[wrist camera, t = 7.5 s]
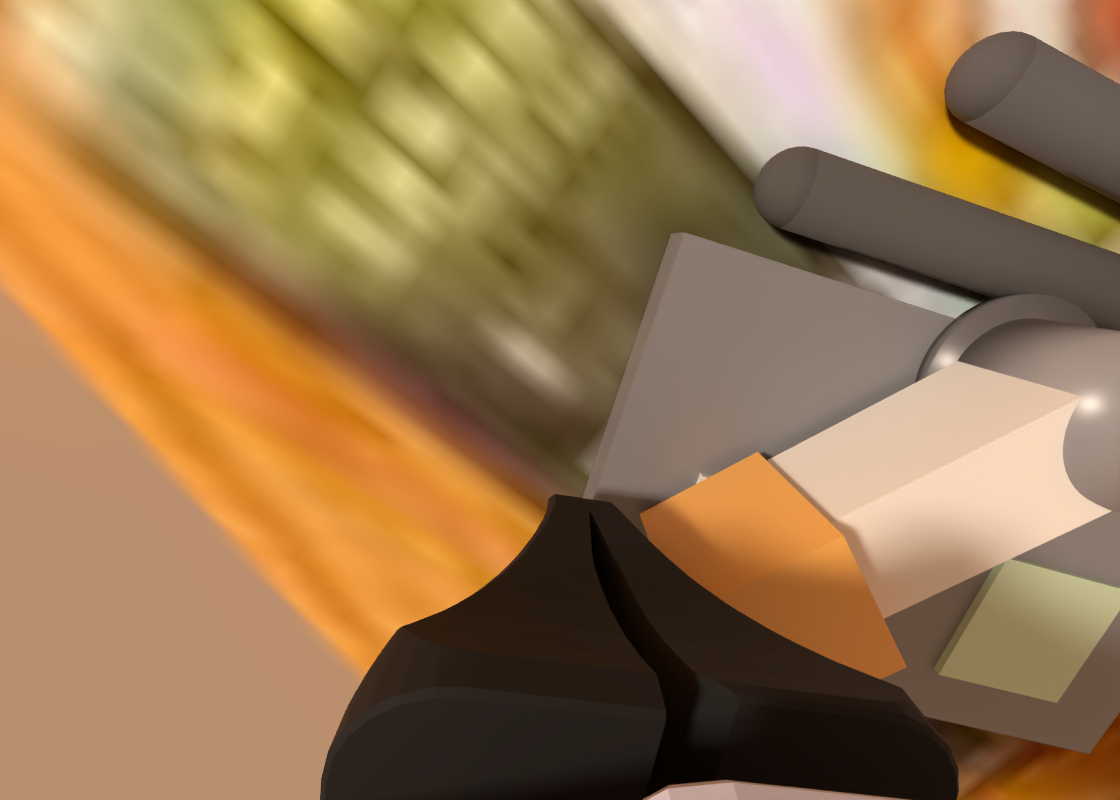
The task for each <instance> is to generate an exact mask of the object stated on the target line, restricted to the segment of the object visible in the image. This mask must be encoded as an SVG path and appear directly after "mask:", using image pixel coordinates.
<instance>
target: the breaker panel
mask: <svg viewBox="0 0 1120 800" xmlns="http://www.w3.org/2000/svg"><path fill="white" fill-rule="evenodd" d="M1026 318H1034V319H1044V320H1050V321H1057V322H1063V323H1070V324H1076V325H1083V326H1090V327H1096V328H1097V326H1096V324H1095V323H1094V322H1093V320H1092V319H1091V318H1090V317H1089V315H1088V314H1087V313H1085V312H1084V311H1083V310H1082V309H1081V308H1080V307H1078V306H1076V305H1075V304H1073V303H1072V302H1069V301H1067V300H1065V299H1062V298H1059V297H1055V296H1051V295H1042V294H1008V295H1002V296H999V297H995V298H992V299H989V300H987V301H984V302H982V303H980V304H978V305H976V306H974V307H972V308H971V309H969V310H967V311H965V312H964V313H963V314H961V315H960V316H959V317H957V318H956V319H954V318H951V317H948V316H945V315H942V314H938V313H935V312H932V311H929V310H926V309H923V308H920V307H917V306H913V305H910V304H907V303H904V302H901V301H898V300H895V299H892V298H888V297H885V296H882V295H879V294H876V293H873V292H870V291H867V290H863V289H860V288H857V287H854V286H851V285H848V284H845V283H841V282H838V281H835V280H832V279H829V278H826V277H823V276H820V275H816V274H813V273H810V272H807V271H804V270H801V269H798V268H795V267H791V266H788V265H785V264H782V263H779V262H776V261H773V260H769V259H766V258H763V257H760V256H757V255H754V254H751V253H748V252H744V251H741V250H738V249H735V248H732V247H729V246H726V245H723V244H719V243H716V242H713V241H710V240H707V239H704V238H701V237H697V236H694V235H691V234H688V233H685V232H684V233H671V236H670V239H669V242H668V245H667V248H666V251H665V254H664V257H663V260H662V263H661V266H660V268H659V271H658V274H657V277H656V280H655V283H654V286H653V289H652V292H651V295H650V298H649V301H648V304H647V307H646V310H645V313H644V316H643V319H642V322H641V325H640V328H639V331H638V334H637V337H636V340H635V343H634V346H633V349H632V352H631V355H630V358H629V360H628V363H627V366H626V369H625V372H624V375H623V378H622V381H621V384H620V387H619V390H618V393H617V396H616V399H615V402H614V405H613V408H612V411H611V414H610V417H609V420H608V423H607V426H606V429H605V432H604V435H603V438H602V441H601V444H600V447H599V450H598V452H597V455H596V458H595V461H594V464H593V467H592V470H591V473H590V476H589V479H588V482H587V485H586V488H585V491H584V494H583V497H582V498H585V499H592V500H599V501H606V502H611V503H612V504H614V505H615V506H616V507H617V508H618V509H619V510H620V511H621V512H622V513H623V514H624V515H625V516H626V517H627V518H628V519H629V520H630V522H631V523H632V524H633V525H634V526H635V527H636V528H637V529H638V530H639V531H640V532H641V533H642V534H643V535H644V536H645V537H646V538H647V539H648V537H647V534H646V531H645V528H644V525H643V522H642V520H641V517H640V513H642V512H644V511H646V510H648V509H650V508H652V507H654V506H656V505H657V504H659V503H661V502H663V501H665V500H667V499H669V498H671V497H673V496H675V495H676V494H678V493H680V492H682V491H684V490H686V489H688V488H690V487H692V486H694V485H695V484H697V483H699V482H701V481H703V480H705V479H707V478H709V477H711V476H713V475H714V474H716V473H718V472H720V471H722V470H724V469H726V468H728V467H730V466H732V465H734V464H735V463H737V462H739V461H741V460H743V459H745V458H747V457H749V456H751V455H753V454H754V453H756V452H758V453H759V454H760V455H761V456H762V457H763V458H764V459H766V460H769V459H771V458H773V457H774V456H776V455H778V454H780V453H782V452H784V451H786V450H788V449H790V448H792V447H794V446H796V445H797V444H799V443H801V442H803V441H805V440H807V439H809V438H811V437H813V436H815V435H817V434H818V433H820V432H822V431H824V430H826V429H828V428H830V427H832V426H834V425H836V424H838V423H839V422H841V421H843V420H845V419H847V418H849V417H851V416H853V415H855V414H857V413H859V412H861V411H862V410H864V409H866V408H868V407H870V406H872V405H874V404H876V403H878V402H880V401H882V400H883V399H885V398H887V397H889V396H891V395H893V394H895V393H897V392H899V391H901V390H903V389H905V388H906V387H908V386H910V385H912V384H914V383H916V382H918V381H920V380H922V379H924V378H926V377H927V376H929V375H931V374H933V373H935V372H937V371H939V370H941V369H943V368H945V367H947V366H948V365H950V364H952V363H954V362H956V361H957V360H958V359H959V358H960V356H961V355H962V353H963V352H964V351H965V350H966V349H967V348H968V347H969V345H971V344H972V343H973V342H974V341H975V340H976V339H977V338H979V337H980V336H981V335H983V334H984V333H985V332H987V331H989V330H990V329H992V328H994V327H996V326H998V325H1001V324H1003V323H1006V322H1009V321H1013V320H1018V319H1026ZM648 540H649V539H648ZM884 620H885V623H886V625H887V627H888V629H889V631H890V633H891V635H892V637H893V639H894V641H895V643H896V645H897V647H898V650H899V652H900V654H901V656H902V658H903V660H904V662H905V664H906V666H907V667H906V668H904V669H902V670H900V671H898V672H895V673H893V674H891V675H889V676H887V677H884V678H882V679H881V680H883V681H886V682H888V683H891V684H893V685H896V686H898V687H901V688H902V689H903V690H904V691H905V692H906V693H907V695H908V696H909V697H910V698H911V700H912V701H913V702H914V703H915V705H916V706H917V707H918V708H919V710H920V711H921V712H922V713H923V715H924V716H925V717H929V718H934V719H938V720H943V721H947V722H951V723H956V724H960V725H964V726H969V727H973V728H977V729H982V730H986V731H991V732H995V733H999V734H1004V735H1008V736H1012V737H1017V738H1021V739H1026V740H1030V741H1034V742H1039V743H1043V744H1047V745H1052V746H1056V747H1060V748H1065V749H1069V750H1074V751H1078V752H1082V753H1087V754H1090V753H1091V751H1092V750H1093V749H1094V747H1095V746H1096V744H1097V743H1098V742H1099V740H1100V739H1101V738H1102V736H1103V735H1104V733H1105V732H1106V731H1107V729H1108V728H1109V726H1110V725H1111V724H1112V722H1113V721H1114V719H1115V718H1116V717H1117V715H1118V714H1119V713H1120V513H1117V512H1114V511H1111V512H1109V513H1107V514H1105V515H1103V516H1101V517H1098V518H1096V519H1094V520H1092V521H1090V522H1088V523H1086V524H1084V525H1081V526H1079V527H1077V528H1075V529H1073V530H1071V531H1069V532H1067V533H1065V534H1062V535H1060V536H1058V537H1056V538H1054V539H1052V540H1050V541H1048V542H1045V543H1043V544H1041V545H1039V546H1037V547H1035V548H1033V549H1031V550H1028V551H1026V552H1024V553H1022V554H1020V555H1018V556H1016V557H1014V558H1012V559H1009V560H1007V561H1005V562H1003V563H1001V564H999V565H997V566H995V567H992V568H990V569H988V570H986V571H984V572H982V573H980V574H978V575H976V576H973V577H971V578H969V579H967V580H965V581H963V582H961V583H959V584H956V585H954V586H952V587H950V588H948V589H946V590H944V591H942V592H940V593H937V594H935V595H933V596H931V597H929V598H927V599H925V600H923V601H920V602H918V603H916V604H914V605H912V606H910V607H908V608H906V609H903V610H901V611H899V612H897V613H895V614H893V615H891V616H889V617H887V618H884Z"/></svg>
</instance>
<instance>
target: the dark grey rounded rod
mask: <svg viewBox="0 0 1120 800" xmlns="http://www.w3.org/2000/svg"><path fill="white" fill-rule="evenodd" d="M944 91H945V102H946V104H947V107H948V109H949V111H950V112H951V113H952V115H953V116H955V117H956V118H957V119H959V120H960V121H962V122H964V123H966V124H968V125H969V126H971V127H973V128H975V129H977V130H979V131H981V132H983V133H985V134H987V135H989V136H991V137H993V138H994V139H996V140H998V141H1000V142H1002V143H1004V144H1006V145H1008V146H1010V147H1012V148H1014V149H1016V150H1017V151H1019V152H1021V153H1023V154H1025V155H1027V156H1029V157H1031V158H1033V159H1035V160H1037V161H1039V162H1041V163H1042V164H1044V165H1046V166H1048V167H1050V168H1052V169H1054V170H1056V171H1058V172H1060V173H1062V174H1064V175H1066V176H1067V177H1069V178H1071V179H1073V180H1075V181H1077V182H1079V183H1081V184H1083V185H1085V186H1087V187H1089V188H1091V189H1092V190H1094V191H1096V192H1098V193H1100V194H1102V195H1104V196H1106V197H1108V198H1110V199H1112V200H1114V201H1115V202H1117V203H1119V204H1120V84H1118V83H1116V82H1114V81H1113V80H1111V79H1109V78H1107V77H1105V76H1104V75H1102V74H1100V73H1098V72H1096V71H1095V70H1093V69H1091V68H1089V67H1087V66H1086V65H1084V64H1082V63H1080V62H1078V61H1077V60H1075V59H1073V58H1071V57H1070V56H1068V55H1066V54H1064V53H1062V52H1061V51H1059V50H1057V49H1055V48H1053V47H1052V46H1050V45H1048V44H1046V43H1044V42H1043V41H1041V40H1039V39H1037V38H1035V37H1034V36H1031V35H1028V34H1026V33H1023V32H1015V31H1011V32H1002V33H998V34H995V35H992V36H989V37H986V38H985V39H983V40H981V41H979V42H977V43H976V44H974V45H973V46H971V47H970V48H969V49H968V50H967V51H966V52H965V53H964V54H963V55H961V57H960V58H959V59H958V60H957V61H956V63H955V64H954V66H953V67H952V69H951V71H950V73H949V75H948V77H947V80H946V85H945V90H944Z"/></svg>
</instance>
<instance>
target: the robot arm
mask: <svg viewBox="0 0 1120 800" xmlns="http://www.w3.org/2000/svg"><path fill="white" fill-rule="evenodd" d="M958 792H959V783H958V767H957V764H956V762H955V759H954V757H953V754H952V752H951V749H950V747H949V746H948V745H947V744H946V742H945V741H944V740H943V739H942V737H941V736H940V735H939V733H938V732H937V731H936V730H935V728H934V727H933V726H932V725H931V723H930V722H929V721H928V720H927V718H926V717H925V716H924V715H923V713H922V712H921V711H920V710H919V708H918V707H917V706H916V705H915V703H914V702H913V701H912V700H911V698H910V697H909V696H908V695H907V693H906V692H905V691H904V690H903V689H902V688H901V687H898V686H896V685H893V684H891V683H888V682H886V681H883V680H881V679H878V678H876V677H873V676H871V675H868V674H866V673H863V672H861V671H858V670H856V669H853V668H851V667H848V666H846V665H843V664H841V663H838V662H836V661H833V660H831V659H829V658H826V657H824V656H822V655H820V654H818V653H816V652H814V651H812V650H810V649H808V648H805V647H803V646H801V645H799V644H797V643H795V642H793V641H791V640H789V639H787V638H785V637H783V636H781V635H780V634H778V633H776V632H774V631H772V630H770V629H768V628H766V627H765V626H763V625H761V624H760V623H758V622H756V621H755V620H753V619H751V618H749V617H748V616H746V615H744V614H743V613H741V612H739V611H738V610H736V609H735V608H733V607H731V606H730V605H728V604H727V603H725V602H724V601H722V600H721V599H719V598H718V597H717V596H715V595H714V594H712V593H711V592H710V591H708V590H707V589H705V588H704V587H703V586H701V585H700V584H698V583H697V582H696V581H695V580H693V579H692V578H691V577H690V576H688V575H687V574H686V573H685V572H683V571H682V570H681V569H680V568H679V567H678V566H676V565H675V564H674V563H673V562H672V561H671V560H669V559H668V558H667V557H666V556H665V555H664V554H663V553H662V552H661V551H660V550H659V549H657V548H656V547H655V546H654V545H653V544H652V543H651V542H650V541H649V540H648V539H647V538H646V537H645V536H644V535H643V534H642V533H641V532H640V531H639V530H638V529H637V528H636V527H635V526H634V525H633V524H632V523H631V522H630V520H629V519H628V518H627V517H626V516H625V515H624V514H623V513H622V512H621V511H620V510H619V509H618V508H617V507H616V506H615V505H614V504H612V503H611V502H606V501H599V500H592V499H585V498H578V497H572V496H565V495H558V494H555V495H553V496H552V497H550V498H549V501H548V506H547V512H546V514H545V517H544V519H543V520H542V522H541V524H540V525H539V527H538V529H537V531H536V532H535V534H534V535H533V537H532V538H531V539H530V541H529V542H528V543H527V544H526V546H525V547H524V548H523V550H522V551H521V552H520V553H519V554H518V556H517V557H516V558H515V559H514V560H513V561H512V562H511V563H510V564H509V565H508V566H507V567H506V568H505V569H504V570H503V571H502V572H501V573H500V574H499V575H497V576H496V577H495V578H494V579H492V580H491V581H490V582H489V583H488V584H486V585H485V586H484V587H483V588H481V589H480V590H478V591H477V592H476V593H474V594H473V595H471V596H470V597H468V598H466V599H464V600H463V601H461V602H459V603H458V604H456V605H454V606H452V607H450V608H448V609H446V610H444V611H442V612H439V613H437V614H434V615H431V616H429V617H426V618H424V619H421V620H419V621H416V622H414V623H411V624H408V625H405V626H402V627H401V628H399V629H398V630H397V631H396V633H395V634H394V635H393V636H392V638H391V639H390V640H389V642H388V643H387V645H386V646H385V647H384V649H383V650H382V651H381V653H380V654H379V656H378V657H377V659H376V660H375V662H374V663H373V665H372V666H371V668H370V669H369V671H368V672H367V674H366V675H365V677H364V679H363V680H362V682H361V684H360V686H359V687H358V689H357V691H356V692H355V694H354V696H353V698H352V700H351V701H350V703H349V705H348V707H347V709H346V711H345V714H344V716H343V718H342V720H341V723H340V725H339V727H338V730H337V732H336V735H335V737H334V739H333V742H332V744H331V746H330V749H329V751H328V754H327V758H326V762H325V766H324V770H323V774H322V779H321V794H320V800H956V799H957V796H958Z"/></svg>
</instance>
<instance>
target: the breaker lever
mask: <svg viewBox="0 0 1120 800" xmlns="http://www.w3.org/2000/svg"><path fill="white" fill-rule="evenodd" d="M1111 511H1114V512H1117V513H1120V331H1116V330H1109V329H1103V328H1096V327H1090V326H1083V325H1076V324H1070V323H1063V322H1057V321H1050V320H1044V319H1034V318H1026V319H1018V320H1013V321H1009V322H1006V323H1003V324H1001V325H998V326H996V327H994V328H992V329H990V330H989V331H987V332H985V333H984V334H983V335H981V336H980V337H979V338H977V339H976V340H975V341H974V342H973V343H972V344H971V345H969V347H968V348H967V349H966V350H965V351H964V352H963V353H962V355H961V356H960V358H959V359H958V360H957V361H956V362H954V363H952V364H950V365H948V366H947V367H945V368H943V369H941V370H939V371H937V372H935V373H933V374H931V375H929V376H927V377H926V378H924V379H922V380H920V381H918V382H916V383H914V384H912V385H910V386H908V387H906V388H905V389H903V390H901V391H899V392H897V393H895V394H893V395H891V396H889V397H887V398H885V399H883V400H882V401H880V402H878V403H876V404H874V405H872V406H870V407H868V408H866V409H864V410H862V411H861V412H859V413H857V414H855V415H853V416H851V417H849V418H847V419H845V420H843V421H841V422H839V423H838V424H836V425H834V426H832V427H830V428H828V429H826V430H824V431H822V432H820V433H818V434H817V435H815V436H813V437H811V438H809V439H807V440H805V441H803V442H801V443H799V444H797V445H796V446H794V447H792V448H790V449H788V450H786V451H784V452H782V453H780V454H778V455H776V456H774V457H773V458H771V459H769V460H766V459H764V458H763V457H762V456H761V455H760V454H759V453H758V452H756V453H754V454H753V455H751V456H749V457H747V458H745V459H743V460H741V461H739V462H737V463H735V464H734V465H732V466H730V467H728V468H726V469H724V470H722V471H720V472H718V473H716V474H714V475H713V476H711V477H709V478H707V479H705V480H703V481H701V482H699V483H697V484H695V485H694V486H692V487H690V488H688V489H686V490H684V491H682V492H680V493H678V494H676V495H675V496H673V497H671V498H669V499H667V500H665V501H663V502H661V503H659V504H657V505H656V506H654V507H652V508H650V509H648V510H646V511H644V512H642V513H640V517H641V520H642V522H643V525H644V528H645V531H646V534H647V537H648V539H649V541H650V542H651V543H652V544H653V545H654V546H655V547H656V548H657V549H659V550H660V551H661V552H662V553H663V554H664V555H665V556H666V557H667V558H668V559H669V560H671V561H672V562H673V563H674V564H675V565H676V566H678V567H679V568H680V569H681V570H682V571H683V572H685V573H686V574H687V575H688V576H690V577H691V578H692V579H693V580H695V581H696V582H697V583H698V584H700V585H701V586H703V587H704V588H705V589H707V590H708V591H710V592H711V593H712V594H714V595H715V596H717V597H718V598H719V599H721V600H722V601H724V602H725V603H727V604H728V605H730V606H731V607H733V608H735V609H736V610H738V611H739V612H741V613H743V614H744V615H746V616H748V617H749V618H751V619H753V620H755V621H756V622H758V623H760V624H761V625H763V626H765V627H766V628H768V629H770V630H772V631H774V632H776V633H778V634H780V635H781V636H783V637H785V638H787V639H789V640H791V641H793V642H795V643H797V644H799V645H801V646H803V647H805V648H808V649H810V650H812V651H814V652H816V653H818V654H820V655H822V656H824V657H826V658H829V659H831V660H833V661H836V662H838V663H841V664H843V665H846V666H848V667H851V668H853V669H856V670H858V671H861V672H863V673H866V674H868V675H871V676H873V677H876V678H878V679H882V678H884V677H887V676H889V675H891V674H893V673H895V672H898V671H900V670H902V669H904V668H906V667H907V666H906V664H905V662H904V660H903V658H902V656H901V654H900V652H899V650H898V647H897V645H896V643H895V641H894V639H893V637H892V635H891V633H890V631H889V629H888V627H887V625H886V623H885V620H884V618H887V617H889V616H891V615H893V614H895V613H897V612H899V611H901V610H903V609H906V608H908V607H910V606H912V605H914V604H916V603H918V602H920V601H923V600H925V599H927V598H929V597H931V596H933V595H935V594H937V593H940V592H942V591H944V590H946V589H948V588H950V587H952V586H954V585H956V584H959V583H961V582H963V581H965V580H967V579H969V578H971V577H973V576H976V575H978V574H980V573H982V572H984V571H986V570H988V569H990V568H992V567H995V566H997V565H999V564H1001V563H1003V562H1005V561H1007V560H1009V559H1012V558H1014V557H1016V556H1018V555H1020V554H1022V553H1024V552H1026V551H1028V550H1031V549H1033V548H1035V547H1037V546H1039V545H1041V544H1043V543H1045V542H1048V541H1050V540H1052V539H1054V538H1056V537H1058V536H1060V535H1062V534H1065V533H1067V532H1069V531H1071V530H1073V529H1075V528H1077V527H1079V526H1081V525H1084V524H1086V523H1088V522H1090V521H1092V520H1094V519H1096V518H1098V517H1101V516H1103V515H1105V514H1107V513H1109V512H1111Z"/></svg>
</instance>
